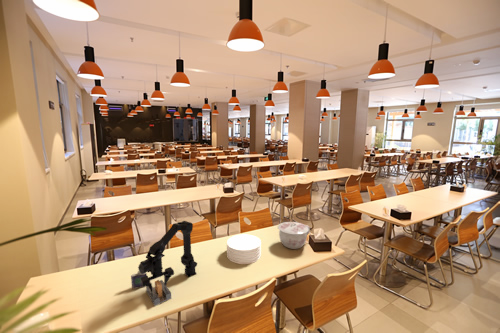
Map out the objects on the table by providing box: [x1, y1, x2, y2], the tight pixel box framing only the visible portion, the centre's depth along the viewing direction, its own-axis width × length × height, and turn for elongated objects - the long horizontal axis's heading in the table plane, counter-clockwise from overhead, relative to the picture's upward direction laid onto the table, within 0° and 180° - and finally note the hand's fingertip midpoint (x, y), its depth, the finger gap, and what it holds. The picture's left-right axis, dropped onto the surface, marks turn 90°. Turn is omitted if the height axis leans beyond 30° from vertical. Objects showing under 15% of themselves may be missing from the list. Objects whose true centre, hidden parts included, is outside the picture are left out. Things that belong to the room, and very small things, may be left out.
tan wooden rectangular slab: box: [154, 279, 162, 297], centre depth 145 cm, size 2×6×8 cm, turn 39°
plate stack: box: [226, 233, 262, 265], centre depth 193 cm, size 28×28×12 cm
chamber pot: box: [277, 221, 311, 250], centre depth 209 cm, size 28×28×21 cm
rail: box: [145, 279, 172, 307], centre depth 146 cm, size 10×16×4 cm, turn 39°
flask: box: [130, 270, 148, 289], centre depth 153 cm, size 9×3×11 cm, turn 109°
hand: (158, 288), depth 145 cm, fingers open, 8 cm apart
